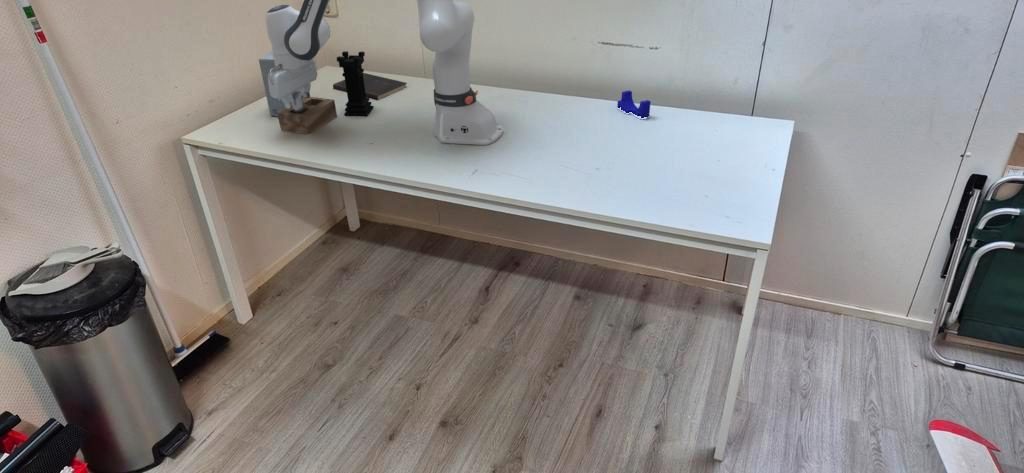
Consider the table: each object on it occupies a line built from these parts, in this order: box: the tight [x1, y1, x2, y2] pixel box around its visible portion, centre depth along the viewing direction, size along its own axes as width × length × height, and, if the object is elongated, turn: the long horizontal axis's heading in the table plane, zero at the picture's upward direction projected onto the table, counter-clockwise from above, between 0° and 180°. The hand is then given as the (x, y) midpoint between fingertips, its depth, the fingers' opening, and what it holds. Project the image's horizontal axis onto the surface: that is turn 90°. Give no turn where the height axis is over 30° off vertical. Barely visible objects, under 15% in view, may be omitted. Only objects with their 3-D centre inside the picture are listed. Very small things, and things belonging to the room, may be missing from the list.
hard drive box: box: [258, 50, 304, 117], centre depth 225 cm, size 16×8×20 cm, turn 171°
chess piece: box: [336, 50, 375, 118], centre depth 221 cm, size 8×8×20 cm
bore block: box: [277, 96, 338, 135], centre depth 217 cm, size 11×16×6 cm
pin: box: [290, 91, 305, 114], centre depth 212 cm, size 4×4×10 cm
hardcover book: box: [332, 72, 408, 101], centre depth 246 cm, size 16×23×2 cm
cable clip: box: [616, 89, 652, 118], centre depth 220 cm, size 12×4×6 cm, turn 26°
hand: (298, 102), depth 211 cm, fingers open, 8 cm apart
